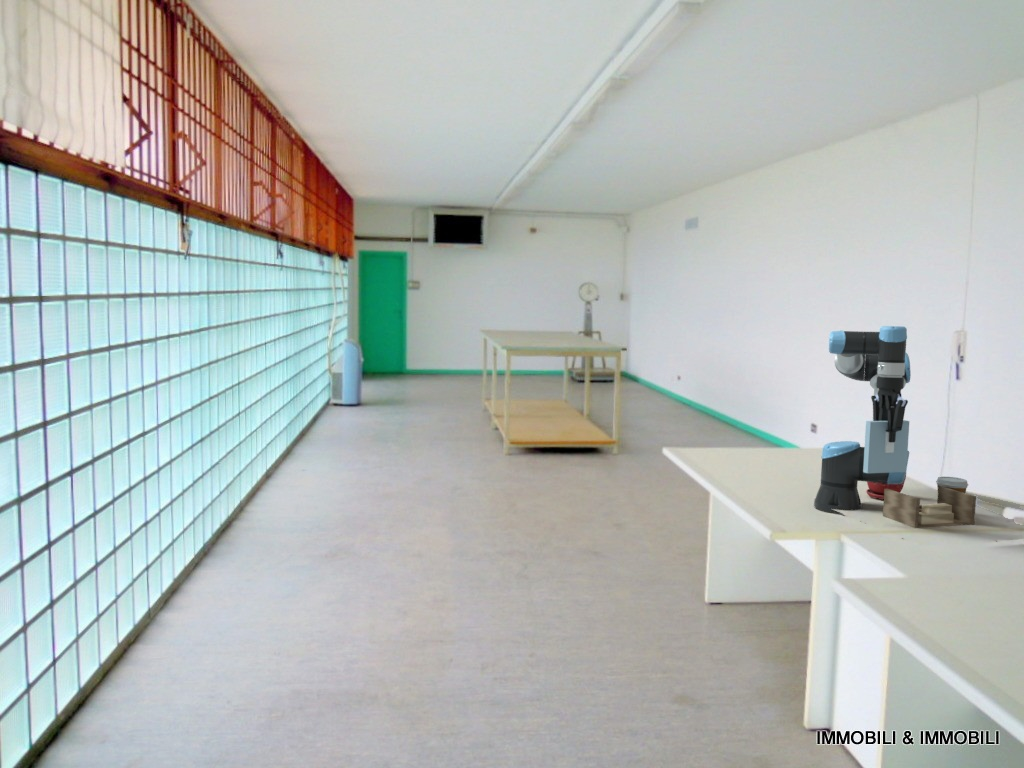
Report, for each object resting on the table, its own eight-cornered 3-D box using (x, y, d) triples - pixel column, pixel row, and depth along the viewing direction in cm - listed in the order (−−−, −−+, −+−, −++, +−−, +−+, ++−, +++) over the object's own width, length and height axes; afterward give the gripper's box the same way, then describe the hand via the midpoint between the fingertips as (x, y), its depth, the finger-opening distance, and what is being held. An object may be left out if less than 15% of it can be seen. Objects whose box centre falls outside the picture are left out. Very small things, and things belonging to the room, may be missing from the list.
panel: (863, 472, 235) (866, 421, 233) (901, 470, 238) (904, 420, 237) (867, 473, 233) (870, 422, 231) (906, 471, 236) (909, 421, 235)
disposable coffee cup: (973, 517, 252) (975, 482, 251) (947, 518, 251) (950, 482, 249) (952, 510, 261) (954, 476, 260) (927, 510, 260) (929, 476, 259)
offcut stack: (913, 521, 240) (914, 504, 239) (945, 519, 243) (946, 502, 242) (922, 524, 236) (923, 507, 236) (954, 522, 239) (955, 505, 239)
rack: (882, 520, 246) (884, 488, 245) (939, 517, 251) (941, 486, 251) (914, 532, 233) (916, 499, 232) (973, 529, 238) (976, 496, 237)
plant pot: (864, 499, 275) (866, 467, 274) (865, 492, 287) (866, 461, 285) (905, 504, 269) (907, 470, 268) (903, 496, 281) (905, 464, 280)
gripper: (863, 374, 239) (859, 447, 241) (897, 378, 225) (893, 456, 227) (883, 374, 241) (879, 447, 243) (919, 378, 226) (914, 455, 228)
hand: (885, 451), depth 235 cm, fingers closed on panel, 2 cm apart
